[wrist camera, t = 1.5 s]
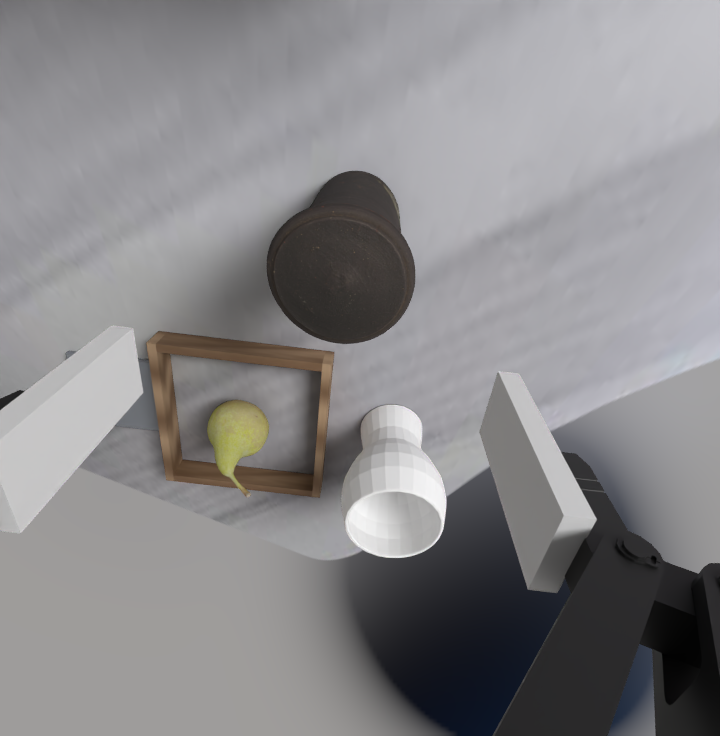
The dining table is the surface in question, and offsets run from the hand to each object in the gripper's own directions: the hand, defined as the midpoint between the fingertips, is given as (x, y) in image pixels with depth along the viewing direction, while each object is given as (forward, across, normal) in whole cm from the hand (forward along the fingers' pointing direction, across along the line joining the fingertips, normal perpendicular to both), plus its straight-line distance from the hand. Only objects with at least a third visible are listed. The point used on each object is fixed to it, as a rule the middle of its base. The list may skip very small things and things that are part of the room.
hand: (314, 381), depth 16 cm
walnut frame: (+31, -11, -25) cm, 41 cm away
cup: (+31, +7, -25) cm, 40 cm away
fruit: (+31, -11, -25) cm, 41 cm away
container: (+31, 0, 0) cm, 31 cm away
